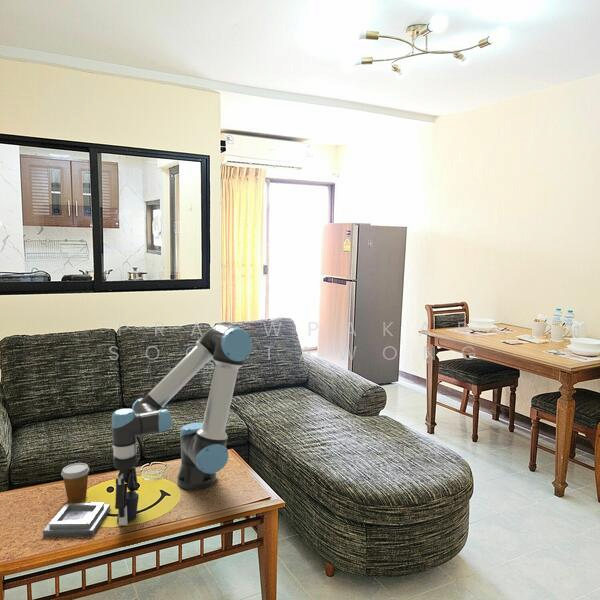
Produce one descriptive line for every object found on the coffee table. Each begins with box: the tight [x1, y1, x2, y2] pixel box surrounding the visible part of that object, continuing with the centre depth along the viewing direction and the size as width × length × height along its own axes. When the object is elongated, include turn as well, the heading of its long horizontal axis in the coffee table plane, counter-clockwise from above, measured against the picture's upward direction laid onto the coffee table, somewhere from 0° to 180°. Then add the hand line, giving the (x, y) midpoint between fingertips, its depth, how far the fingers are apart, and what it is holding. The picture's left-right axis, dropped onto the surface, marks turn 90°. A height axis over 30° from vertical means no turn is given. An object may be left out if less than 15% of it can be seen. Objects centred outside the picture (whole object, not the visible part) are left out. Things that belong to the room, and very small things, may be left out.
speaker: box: [116, 491, 140, 522], centre depth 176 cm, size 8×6×10 cm
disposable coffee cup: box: [60, 462, 90, 503], centre depth 189 cm, size 10×10×12 cm
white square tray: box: [42, 502, 111, 537], centre depth 174 cm, size 16×16×4 cm
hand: (127, 516), depth 177 cm, fingers open, 9 cm apart
